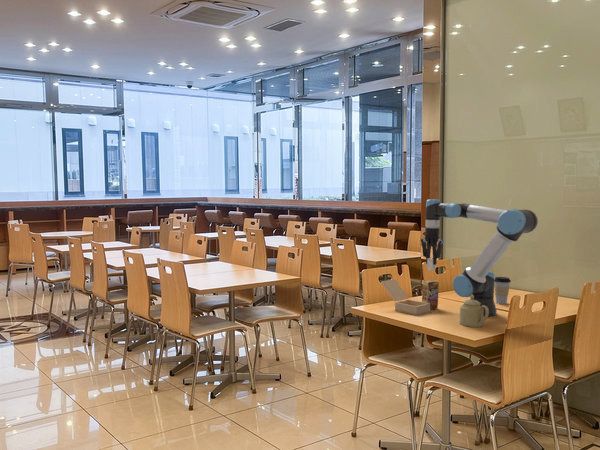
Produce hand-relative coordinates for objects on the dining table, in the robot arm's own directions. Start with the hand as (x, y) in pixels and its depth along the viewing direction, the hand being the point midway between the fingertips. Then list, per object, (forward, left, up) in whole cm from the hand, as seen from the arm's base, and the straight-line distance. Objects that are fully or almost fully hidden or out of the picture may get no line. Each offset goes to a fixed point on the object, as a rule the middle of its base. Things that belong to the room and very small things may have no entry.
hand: (431, 270), depth 312 cm
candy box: (0, 0, -22) cm, 22 cm away
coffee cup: (-19, -47, -22) cm, 55 cm away
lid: (+14, +14, -11) cm, 23 cm away
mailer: (+2, +14, -21) cm, 26 cm away
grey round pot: (-36, +17, -22) cm, 45 cm away
